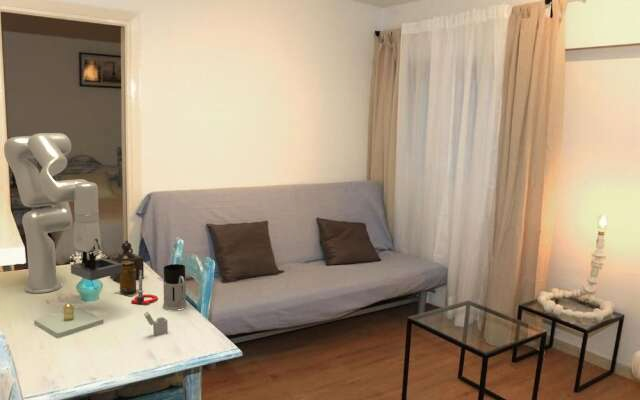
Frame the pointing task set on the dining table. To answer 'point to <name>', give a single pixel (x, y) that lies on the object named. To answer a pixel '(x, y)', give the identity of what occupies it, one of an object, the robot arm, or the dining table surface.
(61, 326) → the plate
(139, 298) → the tow hook
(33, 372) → the dining table surface
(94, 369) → the dining table surface
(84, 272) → the square metal frame
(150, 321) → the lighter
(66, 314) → the post
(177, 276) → the glass holder
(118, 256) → the manual coffee grinder
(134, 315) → the dining table surface
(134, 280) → the condiment
